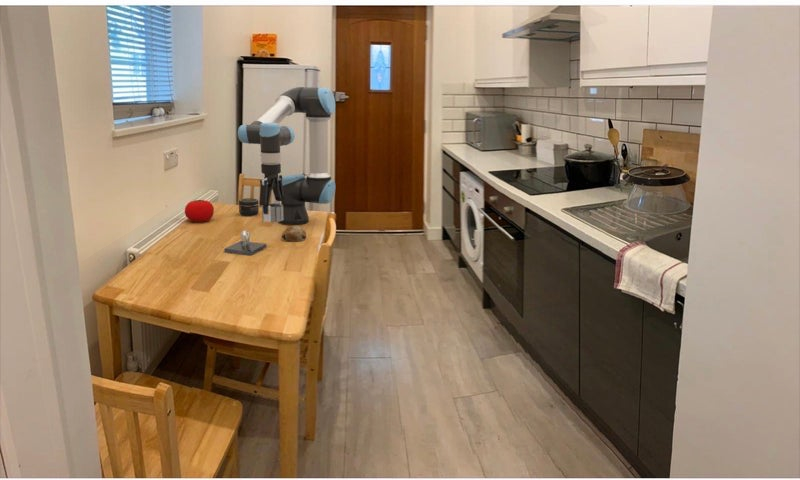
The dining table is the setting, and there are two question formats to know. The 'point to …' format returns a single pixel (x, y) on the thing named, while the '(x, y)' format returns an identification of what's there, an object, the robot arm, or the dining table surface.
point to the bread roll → (294, 234)
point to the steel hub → (275, 212)
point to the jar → (248, 207)
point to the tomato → (199, 210)
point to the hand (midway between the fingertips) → (272, 219)
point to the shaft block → (245, 246)
